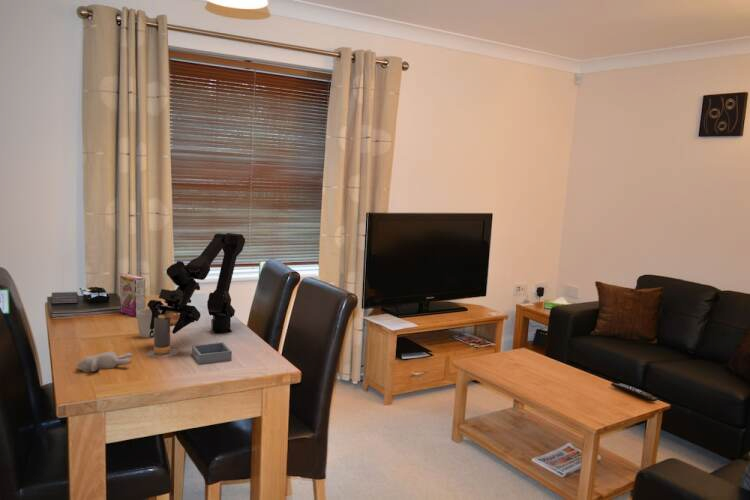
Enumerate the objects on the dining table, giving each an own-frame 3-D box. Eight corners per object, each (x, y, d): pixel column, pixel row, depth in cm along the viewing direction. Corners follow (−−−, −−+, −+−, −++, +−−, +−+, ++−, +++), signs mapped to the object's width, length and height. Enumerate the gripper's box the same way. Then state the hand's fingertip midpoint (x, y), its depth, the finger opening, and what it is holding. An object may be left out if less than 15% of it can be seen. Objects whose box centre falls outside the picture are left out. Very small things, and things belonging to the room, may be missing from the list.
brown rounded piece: (149, 321, 232) (149, 303, 231) (178, 317, 239) (178, 301, 238) (157, 328, 223) (157, 310, 222) (188, 324, 230) (188, 307, 229)
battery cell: (168, 349, 195) (168, 313, 193) (171, 354, 190) (171, 316, 189) (152, 351, 192) (152, 314, 190) (155, 356, 188) (155, 318, 186)
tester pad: (174, 349, 198) (174, 346, 198) (180, 358, 190) (180, 355, 190) (144, 352, 193) (144, 350, 193) (148, 362, 185) (148, 359, 184)
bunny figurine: (81, 352, 179) (132, 345, 183) (83, 368, 180) (134, 360, 184) (74, 362, 170) (128, 355, 174) (77, 379, 171) (130, 371, 175)
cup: (152, 342, 205) (152, 315, 204) (132, 339, 207) (131, 313, 205) (164, 336, 213) (164, 310, 211) (145, 333, 214) (145, 307, 213)
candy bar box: (119, 312, 241) (118, 275, 238) (129, 310, 245) (129, 273, 243) (135, 317, 235) (135, 279, 233) (146, 315, 239) (146, 277, 237)
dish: (222, 353, 197) (223, 342, 197) (231, 363, 188) (231, 351, 188) (191, 356, 192) (191, 345, 191) (198, 367, 183) (199, 355, 182)
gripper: (150, 276, 196) (127, 314, 187) (195, 283, 190) (173, 322, 181) (166, 294, 204) (144, 331, 195) (209, 301, 198) (188, 340, 189)
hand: (161, 331), depth 190 cm, fingers open, 9 cm apart
